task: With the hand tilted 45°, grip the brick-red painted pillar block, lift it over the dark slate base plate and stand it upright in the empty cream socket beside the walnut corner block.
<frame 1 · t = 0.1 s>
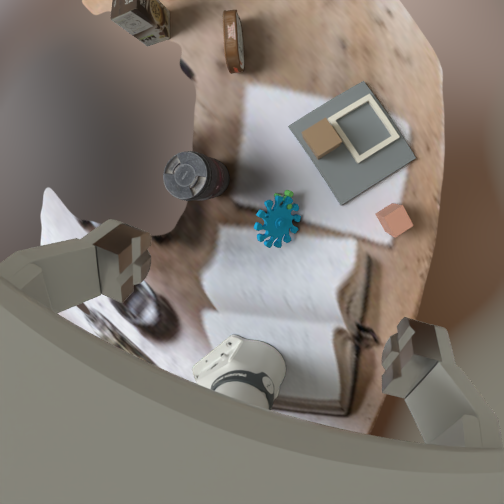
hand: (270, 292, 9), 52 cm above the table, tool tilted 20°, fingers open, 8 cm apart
coffee box: (159, 28, 57), on the table
gear: (281, 217, 61), on the table
pillar block: (388, 217, 56), on the table
camera lens: (214, 178, 62), on the table
base plate: (353, 141, 55), on the table
tin: (239, 48, 56), on the table
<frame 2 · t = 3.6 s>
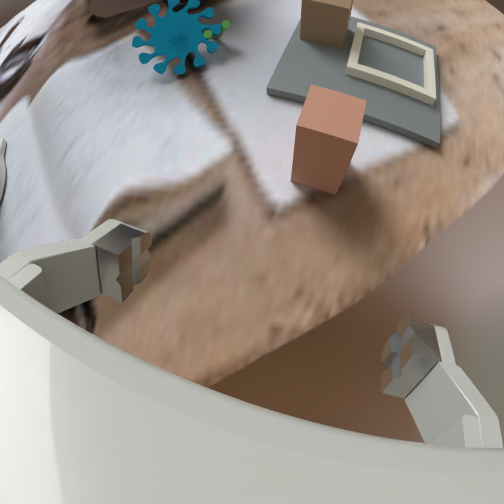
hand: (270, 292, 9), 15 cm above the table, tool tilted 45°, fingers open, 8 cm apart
gear: (188, 57, 31), on the table
pillar block: (319, 168, 26), on the table
camera lens: (188, 2, 35), on the table
base plate: (365, 64, 29), on the table
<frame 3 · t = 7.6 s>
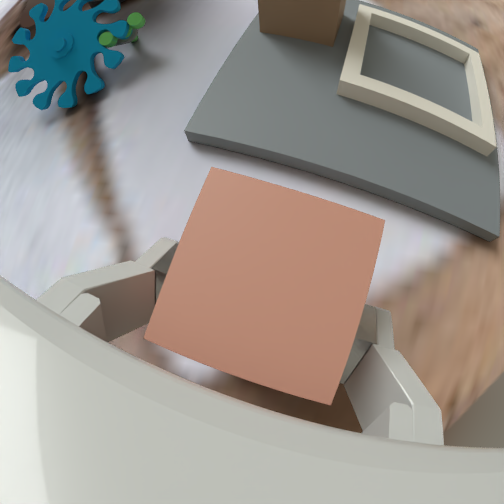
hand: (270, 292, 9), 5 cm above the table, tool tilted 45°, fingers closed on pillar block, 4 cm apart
gear: (91, 75, 19), on the table
pillar block: (270, 307, 14), on the table, touching gripper
base plate: (373, 74, 17), on the table
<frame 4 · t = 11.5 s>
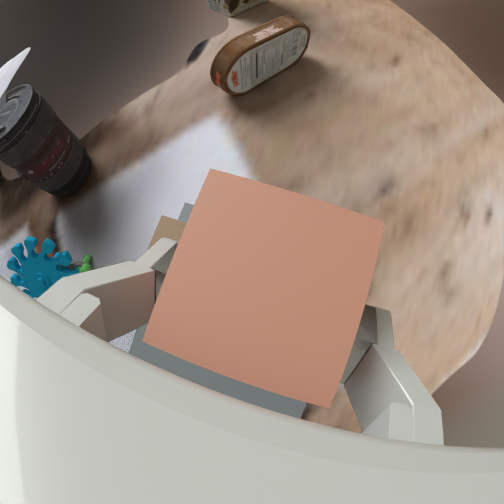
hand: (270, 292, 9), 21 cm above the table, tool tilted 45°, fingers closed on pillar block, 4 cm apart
coffee box: (238, 4, 43), on the table
gear: (67, 283, 32), on the table
pillar block: (269, 309, 14), point 16 cm above the table, touching gripper
camera lens: (72, 174, 36), on the table
base plate: (237, 315, 30), on the table
tin: (265, 76, 38), on the table
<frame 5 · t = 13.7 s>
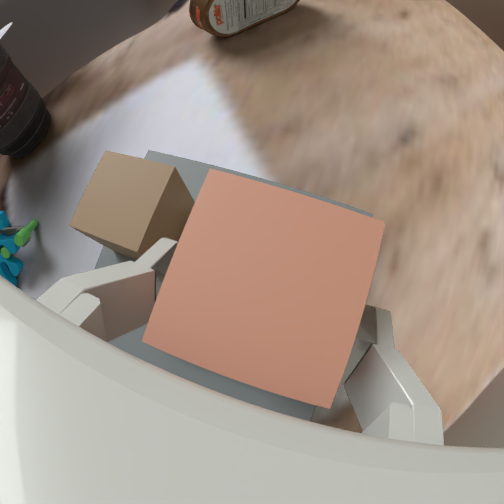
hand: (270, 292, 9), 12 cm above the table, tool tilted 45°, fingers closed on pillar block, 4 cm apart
gear: (11, 256, 23), on the table
pillar block: (269, 309, 14), point 7 cm above the table, touching gripper
camera lens: (30, 134, 27), on the table
base plate: (212, 296, 21), on the table
tin: (256, 22, 29), on the table
when the fingers open (7 cm above the table, at t = 15.7 s): pillar block drops 1 cm, resting on base plate.
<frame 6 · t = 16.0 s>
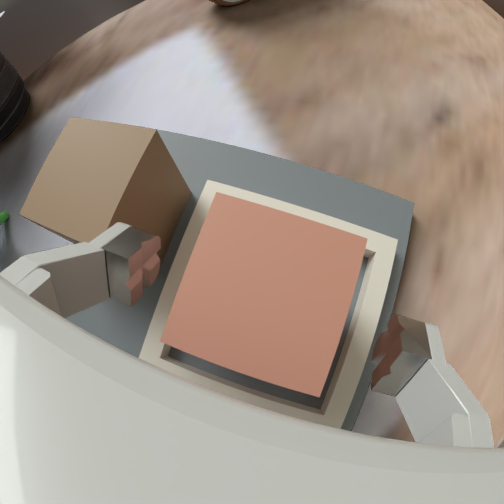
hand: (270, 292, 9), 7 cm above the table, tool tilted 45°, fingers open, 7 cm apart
pillar block: (268, 311, 15), point 1 cm above the table, touching base plate
camera lens: (8, 118, 22), on the table
base plate: (209, 309, 16), on the table
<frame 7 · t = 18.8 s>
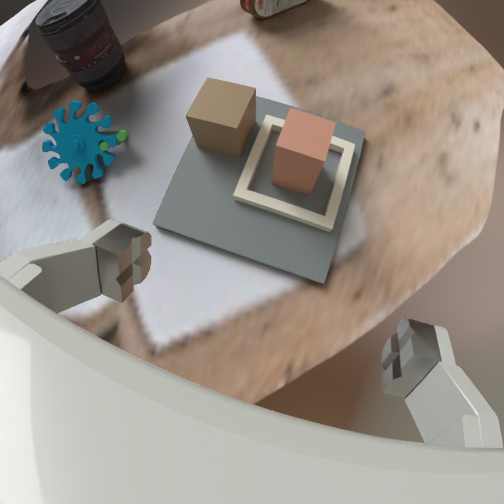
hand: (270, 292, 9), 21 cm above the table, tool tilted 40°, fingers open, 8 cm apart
gear: (96, 156, 34), on the table
pillar block: (295, 172, 31), point 1 cm above the table, touching base plate
camera lens: (105, 75, 36), on the table
base plate: (265, 174, 33), on the table
tin: (283, 9, 38), on the table
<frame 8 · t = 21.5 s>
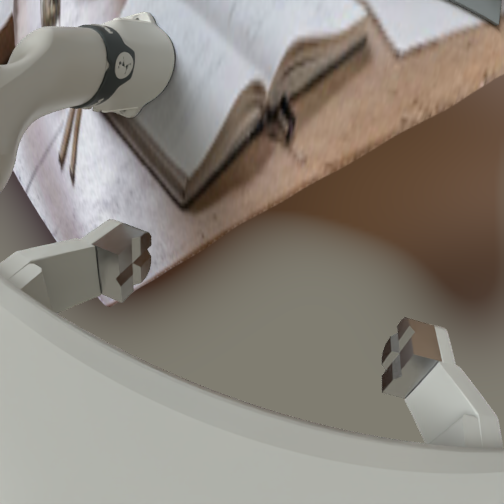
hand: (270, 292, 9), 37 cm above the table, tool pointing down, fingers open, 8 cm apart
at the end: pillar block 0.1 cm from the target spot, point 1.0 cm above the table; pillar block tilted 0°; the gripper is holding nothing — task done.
